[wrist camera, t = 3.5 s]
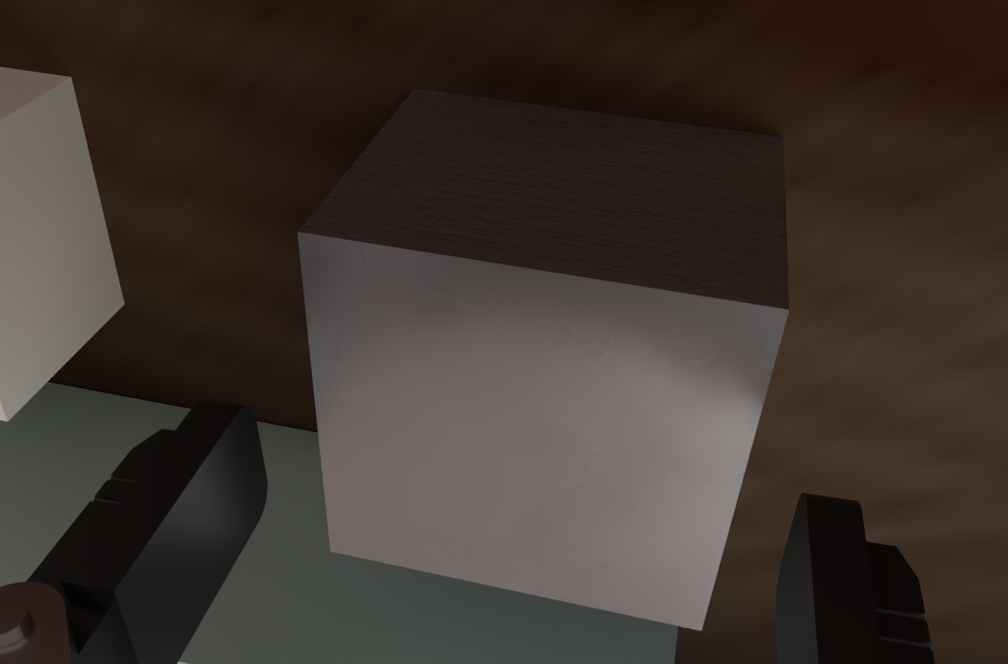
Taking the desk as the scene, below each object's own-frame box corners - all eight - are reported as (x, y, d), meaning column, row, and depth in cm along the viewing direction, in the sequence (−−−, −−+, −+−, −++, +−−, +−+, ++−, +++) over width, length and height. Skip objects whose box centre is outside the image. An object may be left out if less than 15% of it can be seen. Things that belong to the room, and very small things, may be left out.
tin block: (416, 86, 16) (297, 231, 12) (782, 133, 15) (789, 309, 11) (420, 367, 19) (330, 551, 15) (715, 419, 18) (701, 630, 14)
